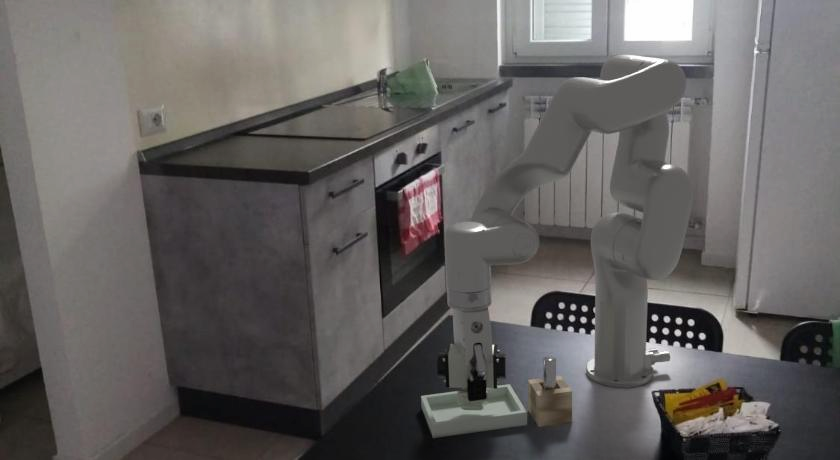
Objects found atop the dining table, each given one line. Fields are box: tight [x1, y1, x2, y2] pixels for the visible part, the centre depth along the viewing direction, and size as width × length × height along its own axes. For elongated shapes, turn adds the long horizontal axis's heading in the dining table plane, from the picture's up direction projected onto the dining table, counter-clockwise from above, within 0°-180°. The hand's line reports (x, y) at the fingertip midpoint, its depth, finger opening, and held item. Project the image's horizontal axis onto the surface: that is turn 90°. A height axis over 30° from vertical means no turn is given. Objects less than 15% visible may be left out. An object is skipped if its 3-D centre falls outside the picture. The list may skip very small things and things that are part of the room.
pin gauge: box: [542, 356, 557, 391], centre depth 150 cm, size 2×2×11 cm
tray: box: [420, 383, 528, 439], centre depth 153 cm, size 17×11×2 cm, turn 100°
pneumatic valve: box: [436, 343, 507, 410], centre depth 151 cm, size 6×12×12 cm, turn 82°
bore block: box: [527, 375, 573, 428], centre depth 151 cm, size 6×6×6 cm
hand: (472, 389), depth 152 cm, fingers closed on pneumatic valve, 5 cm apart
